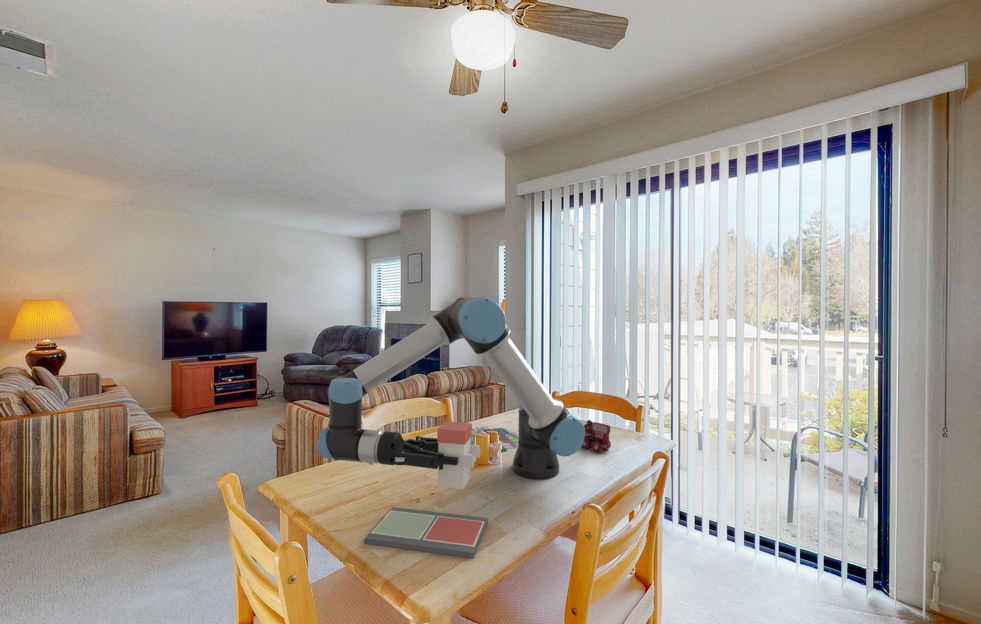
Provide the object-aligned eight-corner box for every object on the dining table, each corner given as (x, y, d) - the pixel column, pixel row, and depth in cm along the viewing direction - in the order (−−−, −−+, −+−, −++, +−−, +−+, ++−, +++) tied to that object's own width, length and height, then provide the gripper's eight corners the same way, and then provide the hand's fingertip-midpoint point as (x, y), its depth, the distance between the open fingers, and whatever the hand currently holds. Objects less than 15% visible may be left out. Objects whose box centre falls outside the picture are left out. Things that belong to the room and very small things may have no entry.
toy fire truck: (586, 442, 167) (587, 416, 167) (614, 451, 158) (615, 423, 158) (575, 446, 163) (576, 419, 163) (603, 455, 153) (604, 426, 153)
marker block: (470, 478, 101) (471, 423, 100) (464, 489, 94) (465, 431, 94) (444, 475, 102) (445, 421, 102) (436, 486, 96) (437, 429, 95)
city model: (496, 464, 149) (499, 447, 148) (451, 441, 164) (452, 426, 164) (537, 448, 168) (539, 433, 167) (493, 429, 183) (494, 415, 182)
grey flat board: (487, 522, 105) (488, 517, 104) (473, 558, 90) (473, 551, 90) (392, 511, 109) (392, 506, 109) (364, 543, 95) (364, 537, 95)
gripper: (398, 449, 111) (484, 457, 106) (362, 478, 92) (465, 489, 88) (398, 421, 111) (485, 428, 106) (363, 444, 92) (466, 453, 88)
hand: (476, 456), depth 97 cm, fingers closed on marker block, 6 cm apart
